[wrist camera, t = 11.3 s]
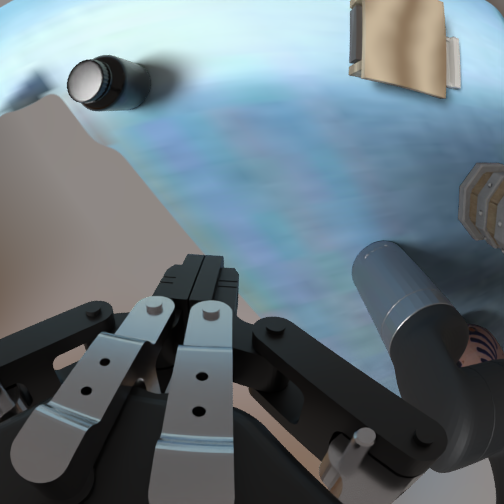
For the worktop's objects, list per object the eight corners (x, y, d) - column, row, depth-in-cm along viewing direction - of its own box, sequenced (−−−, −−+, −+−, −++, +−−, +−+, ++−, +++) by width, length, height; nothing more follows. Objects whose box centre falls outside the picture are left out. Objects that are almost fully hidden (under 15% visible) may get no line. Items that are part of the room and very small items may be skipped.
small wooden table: (420, 14, 29) (443, 2, 23) (420, 99, 34) (445, 98, 28) (349, -6, 29) (364, -24, 23) (348, 83, 35) (364, 77, 28)
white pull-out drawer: (450, 41, 30) (458, 38, 28) (451, 89, 33) (460, 88, 31) (358, 15, 30) (363, 10, 28) (359, 67, 33) (365, 64, 31)
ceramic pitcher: (415, 319, 49) (478, 427, 26) (499, 297, 47) (568, 375, 24) (401, 384, 56) (439, 481, 33) (478, 360, 54) (526, 438, 31)
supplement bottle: (102, 75, 34) (54, 67, 23) (145, 56, 33) (106, 37, 22) (113, 118, 37) (66, 121, 26) (157, 100, 36) (119, 95, 25)
